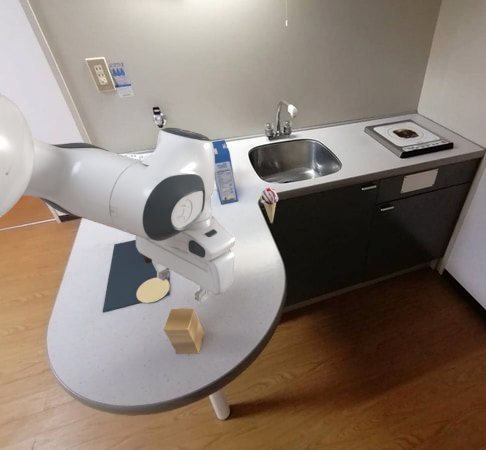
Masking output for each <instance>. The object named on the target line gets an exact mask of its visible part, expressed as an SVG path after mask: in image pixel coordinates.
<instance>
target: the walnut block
mask: <svg viewBox="0 0 486 450" xmlns="http://www.w3.org/2000/svg"><path fill="white" fill-rule="evenodd" d="M142 256H143V258H144V260H145V262H146V263H151V262H152V259H150V258H148V257H147V256H145V255H143V254H142Z"/></svg>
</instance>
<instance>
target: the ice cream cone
mask: <svg viewBox="0 0 486 450" xmlns="http://www.w3.org/2000/svg"><path fill="white" fill-rule="evenodd" d="M259 201H260V203H261V204H263V206H264V208H265V211H266V214H267V217H268V219H269V222H270V224H271V226H273V222H274V217H275V211H276V206H277V203H278V201H279V194H277V192H276V190H275V189H273V188H270V187H268V188H267V187H266V188H265V189H264V190H262V192H261V195H260V198H259Z"/></svg>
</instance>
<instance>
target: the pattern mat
mask: <svg viewBox="0 0 486 450" xmlns="http://www.w3.org/2000/svg"><path fill="white" fill-rule="evenodd" d="M112 249H113V250H112V254H111V255H112V256H111V262H110V266H109V273H108V278H107V283H106V290H105V296H104V302H103V307H102V313H106V312H111V311H114V310H118V309H123V308H126V307H130V306H134V305H138V304H141V303H144V304H151V303H155V302H158V301H159V300H161V299H163V298H164V297H168V296H170V293H171V291H170V288H171V284H170V277H169V278H168V279H165V280H164V281H163V280H161V279H159V278H157V271H156V269H155V267H154V265H153V263H152V262H151V263H146V262H145V260H144V258H143V256H142V254H141V253H140V252H139V251H138V249H137V247H136V239H132V240H128V241H122V242H118V243H114V244H113V248H112ZM167 269H168V268H167Z"/></svg>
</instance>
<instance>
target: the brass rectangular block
mask: <svg viewBox="0 0 486 450" xmlns="http://www.w3.org/2000/svg"><path fill="white" fill-rule="evenodd" d="M163 331H164V334H165V335H166V336H167V338H168V340H169V343H170V344H171V346H172V347H173V349H174V351H175V353H176V354H200V350H201V347H202V342H203V339H204V335H205V332H204V330H203V327H202V325H201V322H200V319H199V317H198V314H197V312H196V310H195V308H171V309H170V311H169V315H168V317H167V319H166V322H165V325H164V328H163Z"/></svg>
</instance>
